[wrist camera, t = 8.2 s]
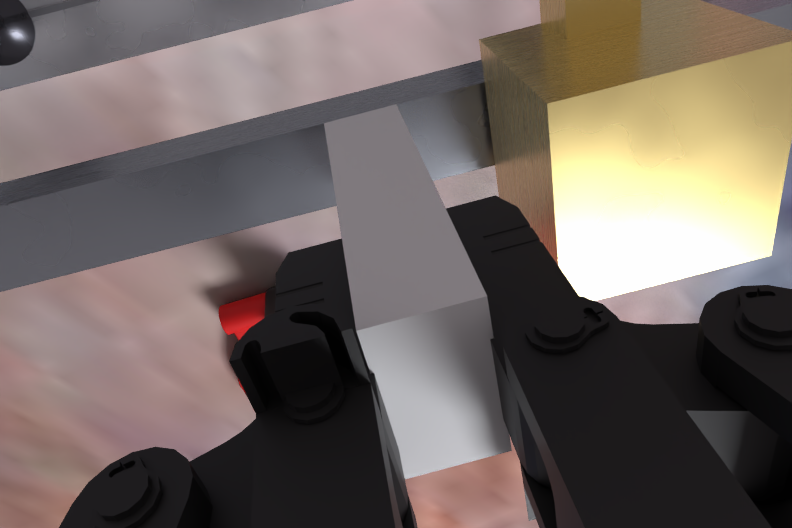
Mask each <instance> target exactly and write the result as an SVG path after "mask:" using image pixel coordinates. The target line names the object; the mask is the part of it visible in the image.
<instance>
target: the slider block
mask: <svg viewBox="0 0 792 528" xmlns="http://www.w3.org/2000/svg"><path fill="white" fill-rule="evenodd" d="M540 13H541V24H537V25H534V26H530V27H526V28H522V29H518V30H514V31H510V32H506V33H502V34H498V35H495V36H491V37H487V38H483V39H479V44H480V51H481V59H482V67H483V75H484V83H485V91H486V98H487V106H488V114H489V122H490V130H491V137H492V145H493V153H494V161H495V169H496V177H497V184H498V192H499V198H501V199H503V200H505V201H507V202H509V203H511V204H513V205H515V206H517V207H518V208H519V209H520V211H521V212H522V214H523V215H524V217H525V218H526V220H527V221H528V222H529V224H530V227H531V228H533V230H534V231H535V233H536V234H537V235H538V237H539V239H540V242H542V243H543V244H544V246H545V247H546V249H547V250H548V251H549V253H550V254H551V256H552V257H553V259H554V260H555V262H556V263H557V265H558V266H559V267H560V269H561V270H562V272H563V273H564V275H565V276H566V278H567V279H568V281H569V282H570V283H571V285H572V286H573V288H574V289H575V291H576V292H577V294H578V295H579V296H583V297H586V298H588V299H591V300H593V301H596V300H600V299H604V298H607V297H611V296H615V295H619V294H623V293H627V292H631V291H635V290H639V289H643V288H647V287H650V286H654V285H658V284H662V283H666V282H670V281H674V280H678V279H682V278H686V277H689V276H693V275H697V274H701V273H705V272H709V271H713V270H717V269H721V268H725V267H729V266H732V265H736V264H740V263H744V262H748V261H752V260H756V259H760V258H764V257H768V256H771V253H772V248H773V242H774V236H775V231H776V225H777V219H778V213H779V208H780V202H781V196H782V191H783V185H784V179H785V173H786V168H787V162H788V156H789V151H790V145H791V139H792V31H791V30H788V29H785V28H782V27H779V26H776V25H773V24H770V23H767V22H764V21H761V20H758V19H755V18H752V17H749V16H746V15H743V14H740V13H737V12H734V11H731V10H728V9H725V8H722V7H719V6H716V5H713V4H710V3H707V2H704V1H701V0H540Z"/></svg>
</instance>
